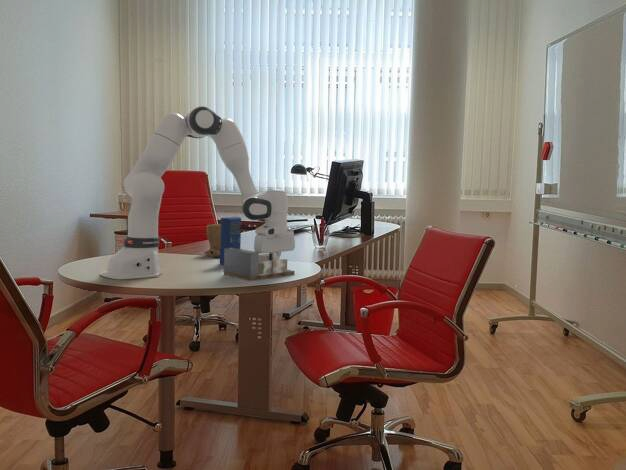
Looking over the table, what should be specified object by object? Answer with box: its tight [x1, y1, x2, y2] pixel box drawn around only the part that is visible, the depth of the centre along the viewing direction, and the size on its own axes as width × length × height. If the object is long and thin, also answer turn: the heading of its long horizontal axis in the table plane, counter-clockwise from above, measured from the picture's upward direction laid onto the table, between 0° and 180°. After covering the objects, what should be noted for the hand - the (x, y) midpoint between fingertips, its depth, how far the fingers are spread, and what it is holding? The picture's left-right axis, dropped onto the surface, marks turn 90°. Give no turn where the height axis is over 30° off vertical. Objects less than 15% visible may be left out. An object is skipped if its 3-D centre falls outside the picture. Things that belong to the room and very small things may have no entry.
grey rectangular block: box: [223, 248, 259, 277], centre depth 248 cm, size 4×15×9 cm, turn 48°
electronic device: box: [219, 216, 242, 266], centre depth 280 cm, size 10×5×20 cm, turn 152°
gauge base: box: [223, 258, 295, 282], centre depth 255 cm, size 24×15×6 cm, turn 138°
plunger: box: [259, 253, 278, 262], centre depth 257 cm, size 6×12×6 cm, turn 48°
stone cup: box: [204, 223, 221, 258], centre depth 303 cm, size 15×12×15 cm
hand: (274, 263), depth 262 cm, fingers closed
